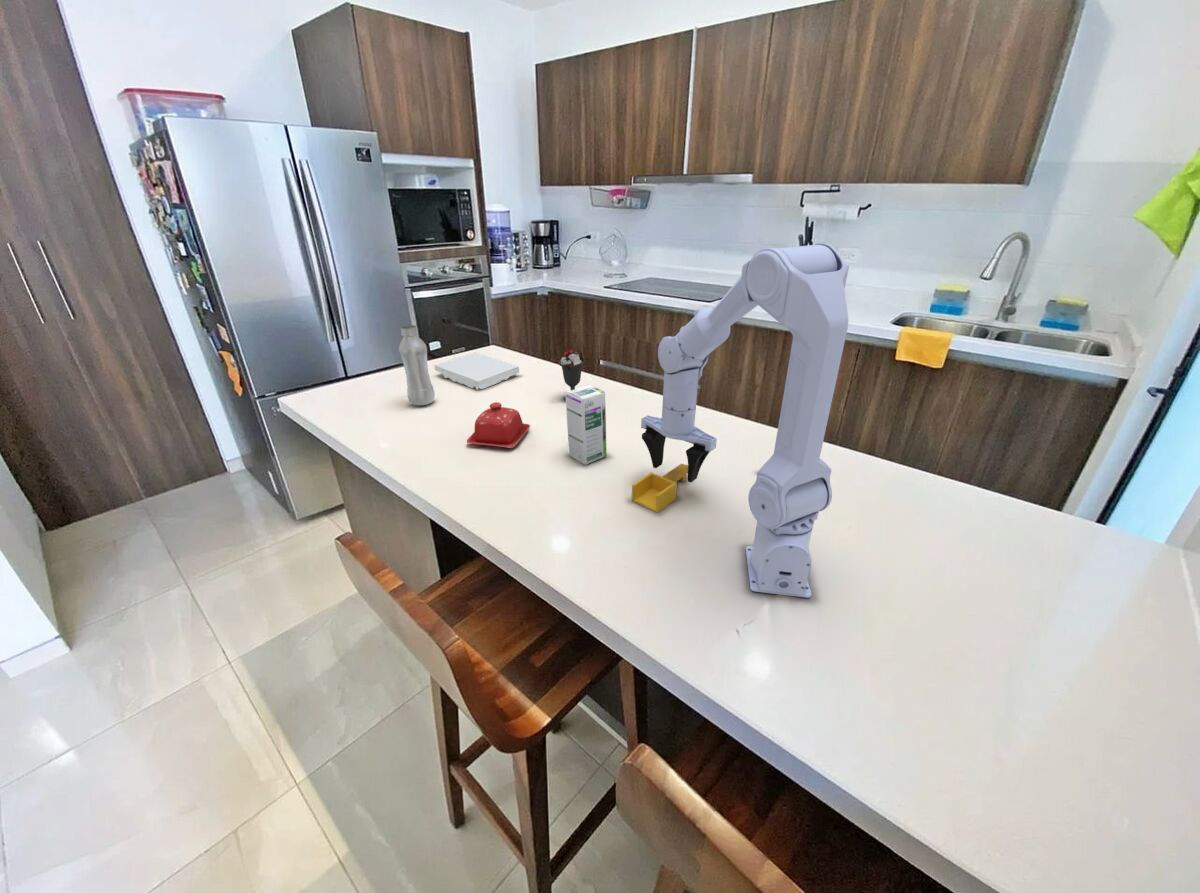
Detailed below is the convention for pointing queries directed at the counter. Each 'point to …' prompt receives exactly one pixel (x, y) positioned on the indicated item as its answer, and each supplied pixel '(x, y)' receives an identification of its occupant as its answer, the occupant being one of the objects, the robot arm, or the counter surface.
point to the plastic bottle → (416, 367)
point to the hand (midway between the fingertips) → (674, 472)
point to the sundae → (571, 368)
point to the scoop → (658, 488)
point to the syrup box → (586, 424)
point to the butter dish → (498, 427)
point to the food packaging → (477, 370)
